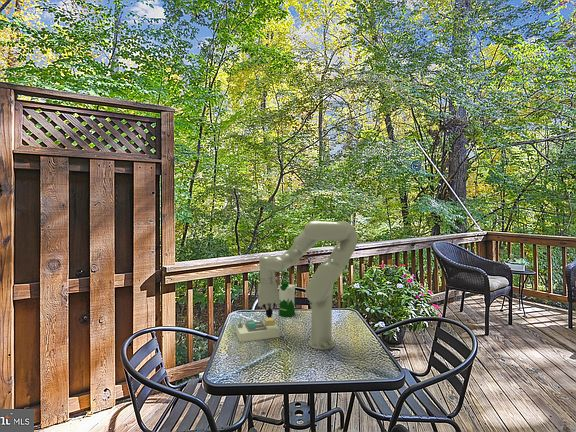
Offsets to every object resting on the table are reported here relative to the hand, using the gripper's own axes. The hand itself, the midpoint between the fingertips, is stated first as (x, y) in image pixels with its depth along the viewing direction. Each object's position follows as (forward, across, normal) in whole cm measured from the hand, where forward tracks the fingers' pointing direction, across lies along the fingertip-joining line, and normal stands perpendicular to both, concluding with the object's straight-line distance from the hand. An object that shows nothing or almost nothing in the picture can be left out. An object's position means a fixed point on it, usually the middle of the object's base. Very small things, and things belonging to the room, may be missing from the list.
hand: (269, 316), depth 164 cm
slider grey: (+5, +9, -6) cm, 12 cm away
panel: (+10, +6, -4) cm, 12 cm away
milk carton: (+10, -18, -29) cm, 35 cm away
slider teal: (+5, +9, -1) cm, 11 cm away
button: (+8, -1, -6) cm, 10 cm away
